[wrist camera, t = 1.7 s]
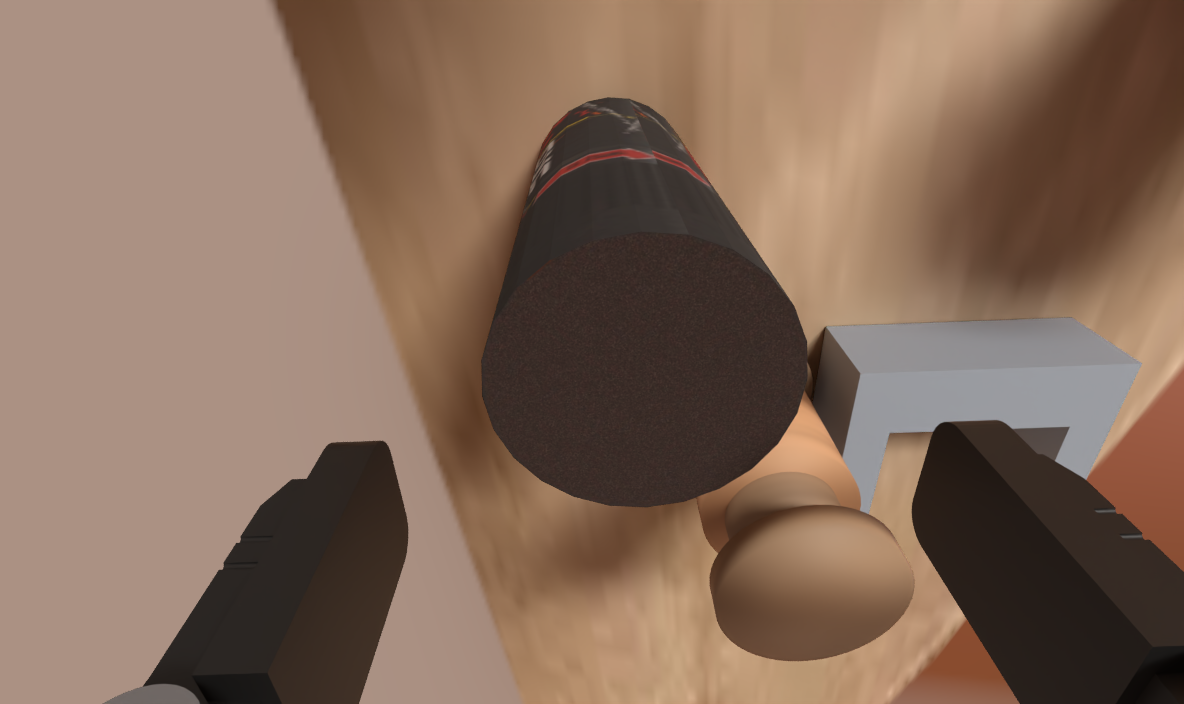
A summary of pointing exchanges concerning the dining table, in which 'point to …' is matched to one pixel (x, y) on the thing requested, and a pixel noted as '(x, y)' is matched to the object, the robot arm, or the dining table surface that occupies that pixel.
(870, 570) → the bobbin
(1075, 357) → the notch board
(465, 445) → the dining table surface
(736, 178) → the dining table surface
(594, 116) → the deodorant
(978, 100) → the dining table surface
